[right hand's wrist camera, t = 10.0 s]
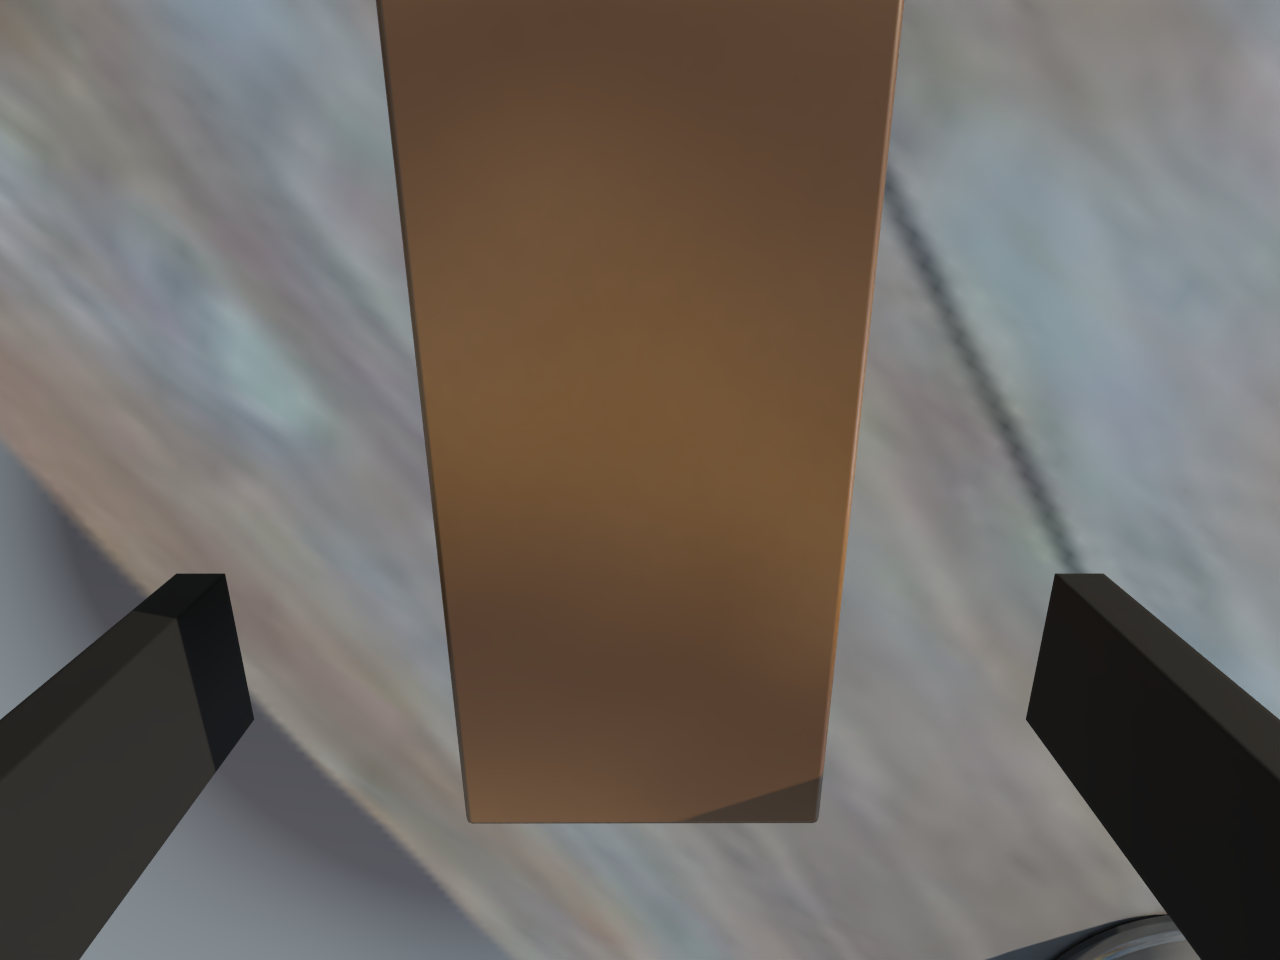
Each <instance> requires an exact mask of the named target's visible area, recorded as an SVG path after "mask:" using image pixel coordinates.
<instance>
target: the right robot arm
mask: <svg viewBox="0 0 1280 960" xmlns="http://www.w3.org/2000/svg"><path fill="white" fill-rule="evenodd" d="M253 720H254V717H253V712H252V707H251V702H250V697H249V692H248V687H247V682H246V677H245V672H244V667H243V662H242V657H241V652H240V647H239V642H238V637H237V632H236V627H235V621H234V616H233V611H232V606H231V601H230V596H229V591H228V586H227V581H226V576H225V574H176V575H174V576H173V577H172V578H171V579H170V580H168V581H167V582H166V583H165V584H164V585H162V586H161V587H160V588H159V589H157V590H156V591H155V592H154V593H153V594H151V595H150V596H149V597H148V598H147V599H145V600H144V601H143V602H142V603H141V604H139V605H138V606H137V607H136V608H135V609H133V610H132V611H131V612H130V613H129V614H127V615H126V616H125V617H124V618H123V619H121V620H120V621H119V622H118V623H116V624H115V625H114V626H113V627H112V628H110V629H109V630H108V631H107V632H106V633H104V634H103V635H102V636H101V637H100V638H98V639H97V640H96V641H95V642H94V643H92V644H91V645H90V646H89V647H88V648H86V649H85V650H84V651H83V652H82V653H80V654H79V655H78V656H77V657H76V658H74V659H73V660H72V661H71V662H70V663H68V664H67V665H66V666H65V667H63V668H62V669H61V670H60V671H59V672H57V673H56V674H55V675H54V676H53V677H51V678H50V679H49V680H48V681H47V682H45V683H44V684H43V685H42V686H41V687H39V688H38V689H37V690H36V691H35V692H33V693H32V694H31V695H30V696H28V697H27V698H26V699H25V700H24V701H22V702H21V703H20V704H19V705H18V706H16V707H15V708H14V709H13V710H12V711H10V712H9V713H8V714H7V715H6V716H4V717H3V718H2V719H1V720H0V960H79V959H80V958H81V956H82V955H83V954H84V952H85V951H86V950H87V948H88V947H89V945H90V944H91V943H92V941H93V940H94V939H95V937H96V936H97V934H98V933H99V932H100V930H101V929H102V928H103V926H104V925H105V923H106V922H107V921H108V919H109V918H110V917H111V915H112V914H113V913H114V911H115V910H116V908H117V907H118V906H119V904H120V903H121V901H122V900H123V899H124V897H125V896H126V895H127V893H128V892H129V890H130V889H131V888H132V886H133V885H134V884H135V882H136V881H137V880H138V878H139V877H140V875H141V874H142V873H143V871H144V870H145V869H146V867H147V866H148V864H149V863H150V862H151V860H152V859H153V858H154V856H155V855H156V853H157V852H158V851H159V849H160V848H161V847H162V845H163V844H164V842H165V841H166V840H167V838H168V837H169V836H170V834H171V833H172V831H173V830H174V829H175V827H176V826H177V825H178V823H179V822H180V820H181V819H182V818H183V816H184V815H185V814H186V812H187V811H188V809H189V808H190V807H191V805H192V804H193V803H194V801H195V800H196V798H197V797H198V796H199V794H200V793H201V792H202V790H203V789H204V787H205V786H206V785H207V783H208V782H209V781H210V779H211V778H212V776H213V775H214V774H215V772H216V771H217V770H218V768H219V767H220V766H221V764H222V763H223V761H224V760H225V759H226V757H227V756H228V755H229V753H230V752H231V750H232V749H233V748H234V746H235V745H236V743H237V742H238V741H239V739H240V738H241V737H242V735H243V734H244V733H245V731H246V730H247V728H248V727H249V726H250V724H251V723H252V722H253ZM1026 720H1027V722H1028V723H1029V724H1030V726H1031V727H1032V728H1033V730H1034V731H1035V733H1036V734H1037V735H1038V737H1039V738H1040V739H1041V741H1042V742H1043V744H1044V745H1045V746H1046V748H1047V749H1048V750H1049V752H1050V753H1051V755H1052V756H1053V757H1054V759H1055V760H1056V761H1057V763H1058V764H1059V766H1060V767H1061V768H1062V770H1063V771H1064V772H1065V774H1066V775H1067V777H1068V778H1069V779H1070V781H1071V782H1072V783H1073V785H1074V786H1075V788H1076V789H1077V790H1078V792H1079V793H1080V794H1081V796H1082V797H1083V798H1084V800H1085V801H1086V803H1087V804H1088V805H1089V807H1090V808H1091V809H1092V811H1093V812H1094V814H1095V815H1096V816H1097V818H1098V819H1099V820H1100V822H1101V823H1102V825H1103V826H1104V827H1105V829H1106V830H1107V831H1108V833H1109V834H1110V836H1111V837H1112V838H1113V840H1114V841H1115V842H1116V844H1117V845H1118V847H1119V848H1120V849H1121V851H1122V852H1123V853H1124V855H1125V856H1126V858H1127V859H1128V860H1129V862H1130V863H1131V864H1132V866H1133V867H1134V869H1135V870H1136V871H1137V873H1138V874H1139V875H1140V877H1141V878H1142V880H1143V881H1144V882H1145V884H1146V885H1147V886H1148V888H1149V889H1150V891H1151V892H1152V893H1153V895H1154V896H1155V897H1156V899H1157V900H1158V902H1159V903H1160V904H1161V906H1162V907H1163V908H1164V910H1165V911H1166V913H1167V914H1168V915H1165V916H1158V917H1152V918H1147V919H1143V920H1139V921H1135V922H1131V923H1128V924H1124V925H1121V926H1118V927H1115V928H1113V929H1110V930H1108V931H1105V932H1103V933H1100V934H1098V935H1096V936H1094V937H1092V938H1090V939H1088V940H1086V941H1084V942H1082V943H1080V944H1079V945H1077V946H1075V947H1074V948H1072V949H1070V950H1069V951H1067V952H1066V953H1064V954H1063V955H1062V956H1060V957H1059V958H1058V959H1056V960H1280V720H1279V719H1278V718H1277V717H1276V716H1274V715H1273V714H1272V713H1271V712H1270V711H1268V710H1267V709H1266V708H1265V707H1264V706H1262V705H1261V704H1260V703H1259V702H1258V701H1256V700H1255V699H1254V698H1253V697H1252V696H1250V695H1249V694H1248V693H1247V692H1245V691H1244V690H1243V689H1242V688H1241V687H1239V686H1238V685H1237V684H1236V683H1235V682H1233V681H1232V680H1231V679H1230V678H1229V677H1227V676H1226V675H1225V674H1224V673H1223V672H1221V671H1220V670H1219V669H1218V668H1217V667H1215V666H1214V665H1213V664H1212V663H1211V662H1209V661H1208V660H1207V659H1206V658H1204V657H1203V656H1202V655H1201V654H1200V653H1198V652H1197V651H1196V650H1195V649H1194V648H1192V647H1191V646H1190V645H1189V644H1188V643H1186V642H1185V641H1184V640H1183V639H1182V638H1180V637H1179V636H1178V635H1177V634H1176V633H1174V632H1173V631H1172V630H1171V629H1170V628H1168V627H1167V626H1166V625H1165V624H1164V623H1162V622H1161V621H1160V620H1159V619H1157V618H1156V617H1155V616H1154V615H1153V614H1151V613H1150V612H1149V611H1148V610H1147V609H1145V608H1144V607H1143V606H1142V605H1141V604H1139V603H1138V602H1137V601H1136V600H1135V599H1133V598H1132V597H1131V596H1130V595H1129V594H1127V593H1126V592H1125V591H1124V590H1123V589H1121V588H1120V587H1119V586H1118V585H1116V584H1115V583H1114V582H1113V581H1112V580H1110V579H1109V578H1108V577H1107V576H1106V575H1104V574H1055V576H1054V581H1053V586H1052V591H1051V596H1050V601H1049V606H1048V611H1047V616H1046V622H1045V627H1044V632H1043V637H1042V642H1041V647H1040V652H1039V657H1038V662H1037V667H1036V672H1035V677H1034V682H1033V687H1032V692H1031V697H1030V702H1029V707H1028V712H1027V717H1026Z"/></svg>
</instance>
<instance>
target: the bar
mask: <svg viewBox="0 0 1280 960" xmlns="http://www.w3.org/2000/svg"><path fill="white" fill-rule="evenodd" d="M376 6H377V15H378V24H379V33H380V42H381V51H382V60H383V69H384V78H385V87H386V96H387V105H388V114H389V123H390V132H391V141H392V150H393V159H394V168H395V177H396V186H397V195H398V204H399V213H400V222H401V231H402V240H403V249H404V258H405V267H406V276H407V285H408V294H409V303H410V312H411V321H412V330H413V339H414V348H415V357H416V366H417V375H418V384H419V393H420V402H421V411H422V420H423V429H424V438H425V447H426V456H427V465H428V474H429V483H430V492H431V501H432V510H433V519H434V528H435V537H436V546H437V555H438V564H439V573H440V582H441V591H442V600H443V609H444V618H445V627H446V636H447V645H448V654H449V663H450V672H451V681H452V690H453V699H454V708H455V717H456V726H457V735H458V744H459V753H460V762H461V771H462V780H463V789H464V798H465V807H466V816H467V820H468V822H470V823H814V822H816V821H817V820H818V817H819V808H820V799H821V789H822V780H823V770H824V761H825V751H826V741H827V732H828V722H829V713H830V703H831V694H832V684H833V675H834V665H835V656H836V646H837V637H838V627H839V617H840V608H841V598H842V589H843V579H844V570H845V560H846V551H847V541H848V532H849V522H850V513H851V503H852V493H853V484H854V474H855V465H856V455H857V446H858V436H859V427H860V417H861V408H862V398H863V389H864V379H865V370H866V360H867V350H868V341H869V331H870V322H871V312H872V303H873V293H874V284H875V274H876V265H877V255H878V246H879V236H880V226H881V217H882V207H883V198H884V188H885V179H886V169H887V160H888V150H889V141H890V131H891V122H892V112H893V102H894V93H895V83H896V74H897V64H898V55H899V45H900V36H901V26H902V17H903V7H904V0H376Z"/></svg>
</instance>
